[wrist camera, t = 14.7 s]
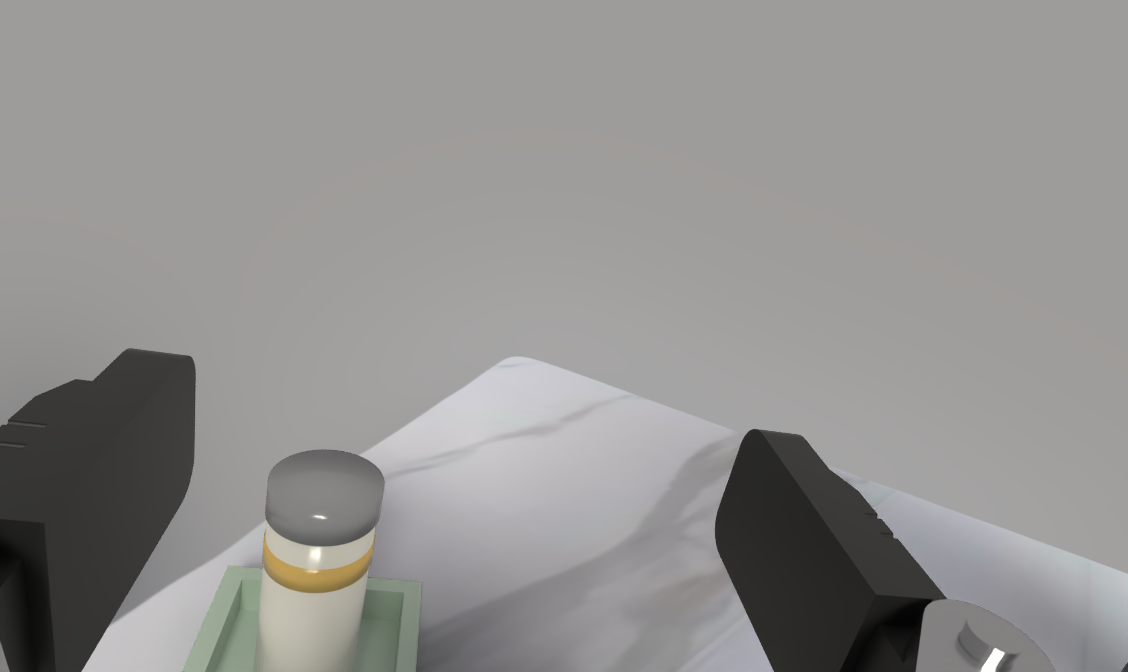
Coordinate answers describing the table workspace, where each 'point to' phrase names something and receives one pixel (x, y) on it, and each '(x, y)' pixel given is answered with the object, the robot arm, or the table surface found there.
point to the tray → (231, 624)
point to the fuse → (316, 560)
